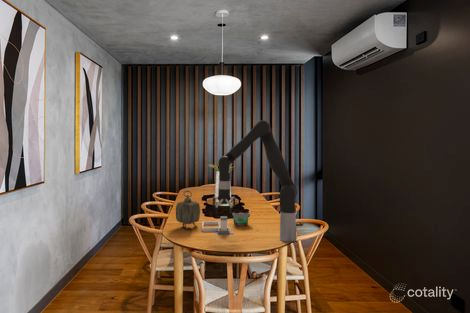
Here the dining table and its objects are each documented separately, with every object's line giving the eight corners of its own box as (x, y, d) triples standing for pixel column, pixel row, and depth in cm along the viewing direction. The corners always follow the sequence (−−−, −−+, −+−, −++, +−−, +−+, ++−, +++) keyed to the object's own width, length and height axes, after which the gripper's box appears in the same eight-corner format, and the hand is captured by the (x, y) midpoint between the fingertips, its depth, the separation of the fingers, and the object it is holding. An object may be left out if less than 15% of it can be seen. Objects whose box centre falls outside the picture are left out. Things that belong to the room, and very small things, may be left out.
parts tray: (219, 225, 234) (219, 221, 234) (220, 232, 216) (220, 227, 216) (202, 225, 233) (202, 221, 233) (201, 233, 215) (201, 228, 215)
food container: (233, 228, 227) (233, 214, 226) (231, 226, 233) (232, 212, 233) (251, 228, 229) (251, 213, 229) (249, 225, 235) (249, 211, 235)
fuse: (226, 231, 215) (226, 216, 215) (227, 233, 211) (227, 217, 211) (220, 231, 215) (220, 216, 215) (220, 233, 211) (220, 217, 211)
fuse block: (232, 232, 218) (232, 227, 218) (233, 236, 210) (233, 231, 210) (214, 232, 217) (214, 228, 217) (214, 236, 209) (214, 231, 209)
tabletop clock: (199, 228, 228) (200, 191, 226) (191, 231, 220) (191, 192, 219) (183, 224, 235) (183, 189, 234) (174, 227, 227) (174, 190, 226)
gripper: (235, 187, 216) (234, 212, 217) (213, 186, 215) (212, 211, 216) (236, 188, 209) (235, 214, 210) (213, 188, 208) (212, 214, 209)
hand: (223, 213), depth 213 cm, fingers open, 8 cm apart
